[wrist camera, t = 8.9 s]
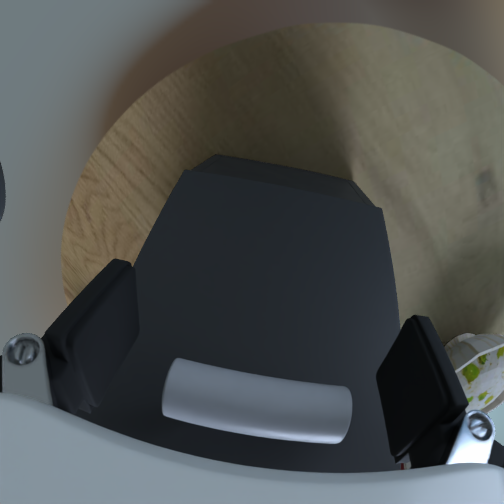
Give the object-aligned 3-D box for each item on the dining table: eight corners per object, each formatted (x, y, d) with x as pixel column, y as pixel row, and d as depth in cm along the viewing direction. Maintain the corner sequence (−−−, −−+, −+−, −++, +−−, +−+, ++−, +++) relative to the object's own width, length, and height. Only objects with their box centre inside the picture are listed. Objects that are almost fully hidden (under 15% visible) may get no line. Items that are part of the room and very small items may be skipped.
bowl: (470, 275, 30) (508, 324, 21) (521, 325, 33) (548, 365, 24) (376, 373, 39) (388, 429, 30) (445, 399, 41) (459, 443, 32)
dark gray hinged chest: (315, 310, 35) (319, 365, 27) (201, 288, 35) (178, 338, 27) (353, 181, 28) (378, 209, 20) (215, 154, 28) (186, 172, 20)
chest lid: (391, 477, 9) (467, 469, 5) (79, 423, 10) (14, 394, 6) (378, 216, 20) (405, 157, 16) (184, 178, 20) (182, 113, 16)
